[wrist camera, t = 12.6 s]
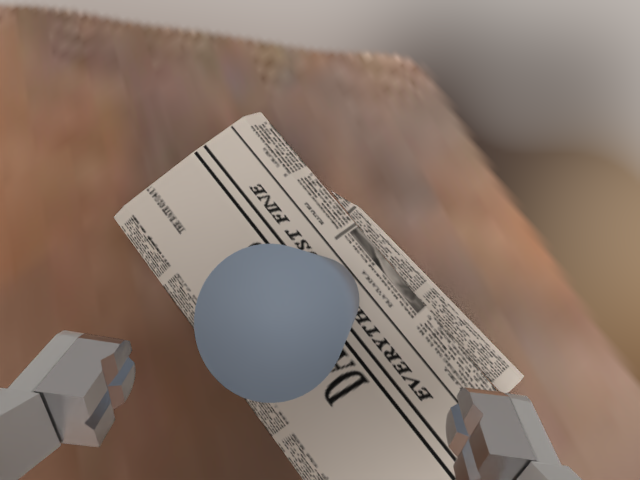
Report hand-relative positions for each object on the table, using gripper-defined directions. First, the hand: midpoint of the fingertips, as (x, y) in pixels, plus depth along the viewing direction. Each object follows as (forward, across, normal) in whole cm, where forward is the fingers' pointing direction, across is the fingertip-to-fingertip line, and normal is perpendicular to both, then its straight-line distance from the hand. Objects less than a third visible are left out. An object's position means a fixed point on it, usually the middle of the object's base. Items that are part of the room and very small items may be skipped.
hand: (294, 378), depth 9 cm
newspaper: (+11, 0, +6) cm, 13 cm away
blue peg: (+9, -1, +5) cm, 10 cm away
